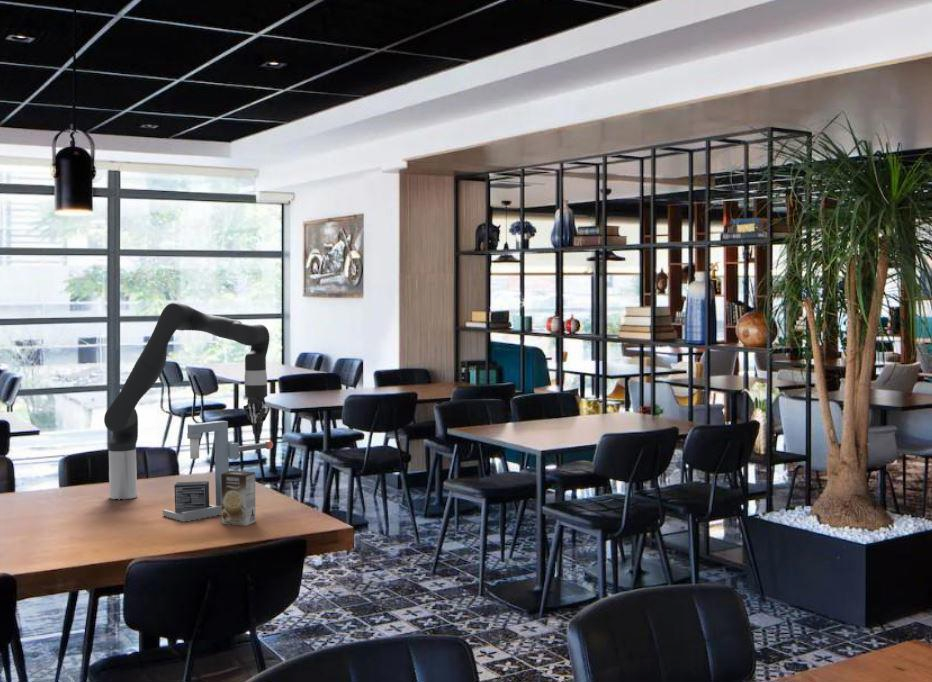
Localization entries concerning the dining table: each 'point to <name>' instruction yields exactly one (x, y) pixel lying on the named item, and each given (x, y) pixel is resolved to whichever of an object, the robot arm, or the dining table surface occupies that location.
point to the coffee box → (238, 497)
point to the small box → (191, 496)
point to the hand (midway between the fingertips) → (256, 433)
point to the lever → (255, 446)
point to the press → (220, 465)
